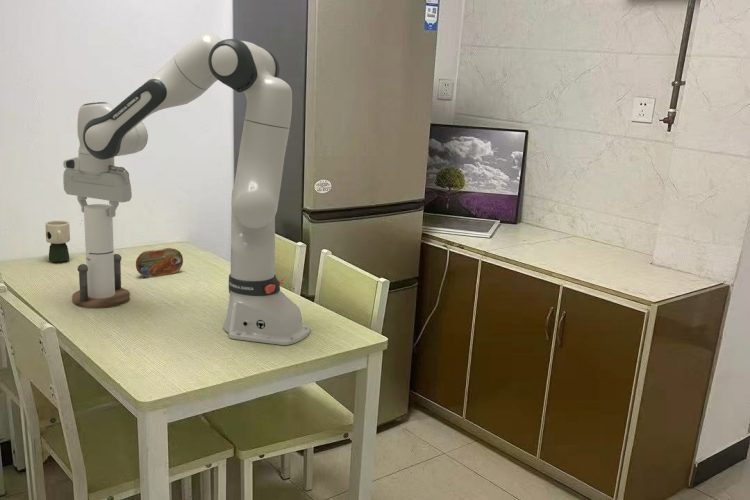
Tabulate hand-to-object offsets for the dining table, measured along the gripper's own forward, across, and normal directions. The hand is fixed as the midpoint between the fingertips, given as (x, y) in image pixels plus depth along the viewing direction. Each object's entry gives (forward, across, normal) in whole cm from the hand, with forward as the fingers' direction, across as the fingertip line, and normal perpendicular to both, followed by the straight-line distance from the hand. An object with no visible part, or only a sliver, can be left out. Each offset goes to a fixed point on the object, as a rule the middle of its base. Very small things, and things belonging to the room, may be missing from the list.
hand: (98, 214), depth 187 cm
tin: (+25, +2, -28) cm, 37 cm away
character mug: (+25, +38, -23) cm, 51 cm away
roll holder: (+24, 0, 0) cm, 24 cm away
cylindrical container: (+23, 0, 0) cm, 23 cm away
